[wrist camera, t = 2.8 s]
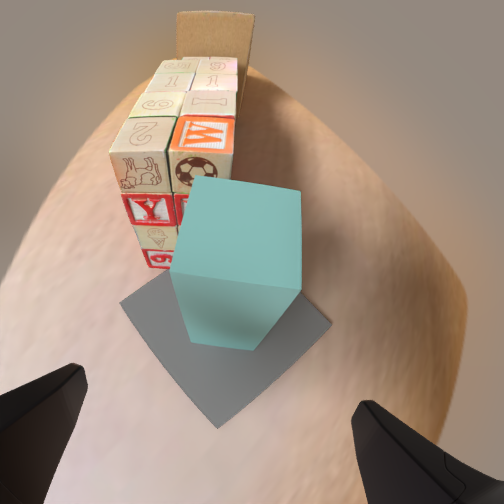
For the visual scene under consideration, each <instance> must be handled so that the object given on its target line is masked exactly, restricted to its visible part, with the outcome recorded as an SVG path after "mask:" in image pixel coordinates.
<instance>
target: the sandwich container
mask: <svg viewBox="0 0 504 504" xmlns="http://www.w3.org/2000/svg"><path fill="white" fill-rule="evenodd" d="M254 22H255V16H254V15H253V14H247V13H237V12H226V11H188V12H187V11H186V12H178V14H177V60H182V58H183V57H231V58H238V59H237V61H238V62H237V68H238V75H237V76H238V92H237V99H236V118H239V114H240V109H241V103H242V98H243V93H244V87H245V82H246V76H247V70H248V64H249V58H250V50H251V43H252V35H253V28H254Z"/></svg>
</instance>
